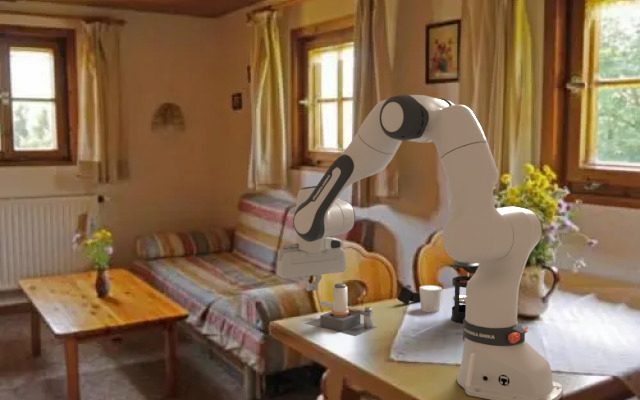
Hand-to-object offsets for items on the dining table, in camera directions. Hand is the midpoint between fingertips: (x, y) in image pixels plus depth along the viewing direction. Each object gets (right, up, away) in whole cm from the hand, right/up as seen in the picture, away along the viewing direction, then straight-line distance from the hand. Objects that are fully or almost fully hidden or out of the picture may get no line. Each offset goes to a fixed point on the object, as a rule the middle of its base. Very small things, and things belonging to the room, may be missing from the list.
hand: (311, 290), depth 193 cm
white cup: (+36, -8, +15) cm, 40 cm away
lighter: (+31, -7, +22) cm, 39 cm away
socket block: (+8, -10, -3) cm, 13 cm away
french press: (+46, -9, +5) cm, 47 cm away
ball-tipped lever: (+10, -6, 0) cm, 11 cm away
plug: (+8, -9, -3) cm, 13 cm away
